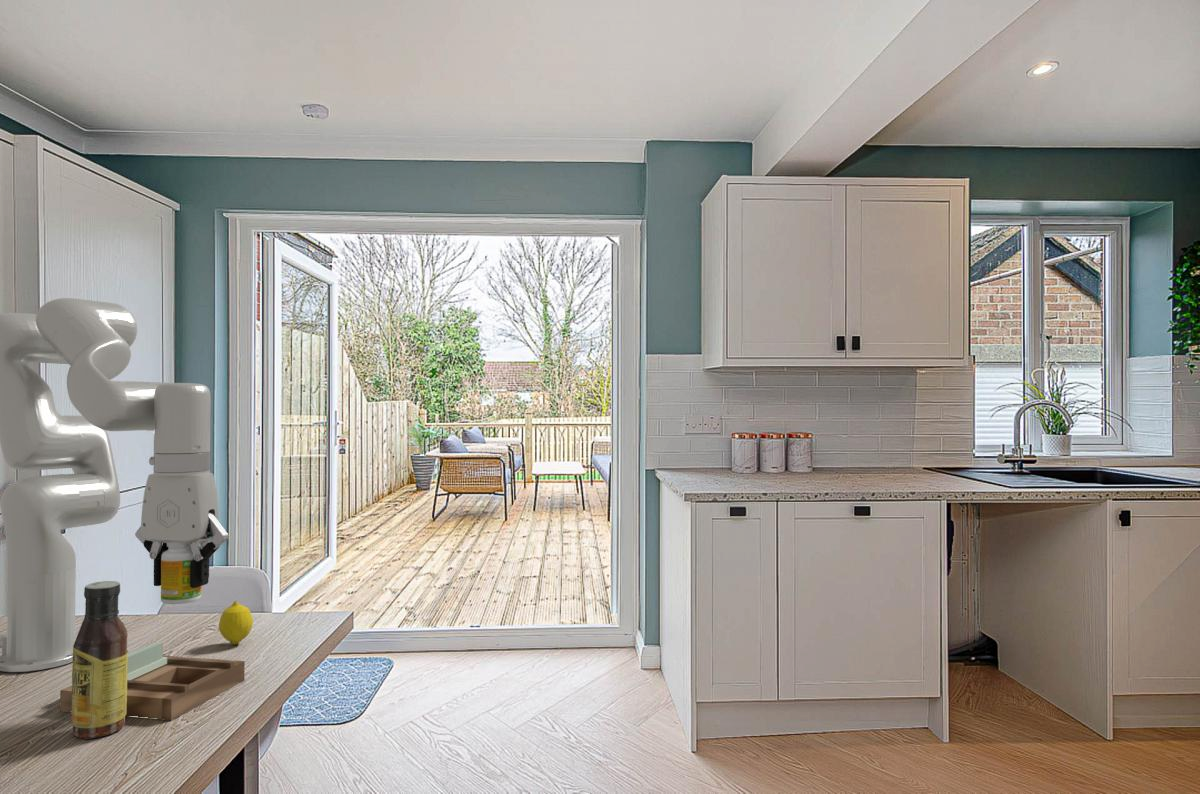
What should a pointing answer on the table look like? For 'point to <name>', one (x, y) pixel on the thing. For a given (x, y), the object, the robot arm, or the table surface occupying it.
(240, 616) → the fruit
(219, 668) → the wooden tray
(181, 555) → the supplement bottle
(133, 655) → the lid
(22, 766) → the table surface
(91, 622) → the sauce bottle
